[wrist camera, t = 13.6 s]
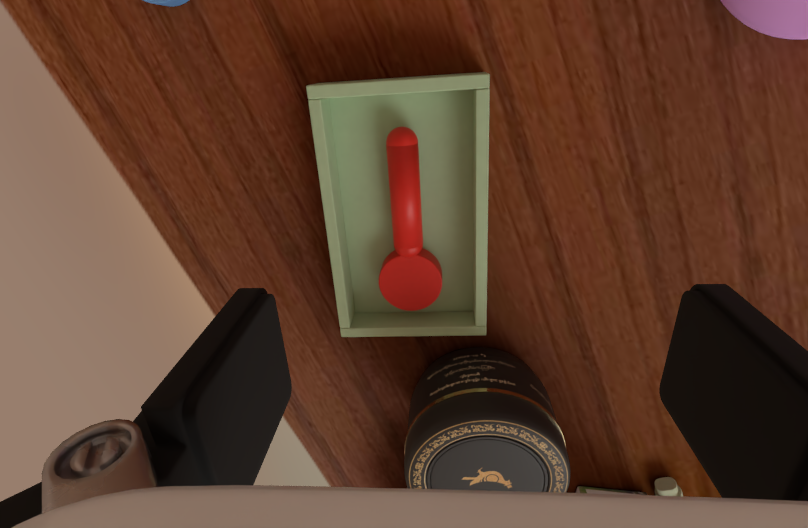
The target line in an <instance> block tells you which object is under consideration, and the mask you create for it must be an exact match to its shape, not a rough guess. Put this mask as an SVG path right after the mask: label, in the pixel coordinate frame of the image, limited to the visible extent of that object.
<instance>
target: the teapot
mask: <svg viewBox="0 0 808 528" xmlns="http://www.w3.org/2000/svg"><path fill="white" fill-rule="evenodd" d="M720 1H721V2H722V4H723V5H724V6H725V7H726V8H727V9H728V11H729V12H730V13H731V14H732V15H733V16H734V17H736V18H737V19H738V20H740V21H741V22H742V23H744V24H745V25H746V26H748V27H750V28H752V29H754V30H756V31H758V32H760V33H763V34H766V35H769V36H772V37H778V38H784V39H808V0H720Z"/></svg>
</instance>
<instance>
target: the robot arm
mask: <svg viewBox="0 0 808 528" xmlns="http://www.w3.org/2000/svg"><path fill="white" fill-rule="evenodd" d="M290 396H291V379H290V374H289V368H288V363H287V358H286V353H285V348H284V343H283V338H282V333H281V327H280V322H279V317H278V312H277V307H276V302H275V298H274V296H273V295H272V294H267V291H266V290H265V289H264V288H240V289H238V290H237V291H236V292H235V294H234V295H233V296H232V297H231V298H230V300H229V301H228V302H227V303H226V304H225V306H224V307H223V308H222V309H221V311H220V312H219V313H218V314H217V315H216V317H215V318H214V319H213V320H212V321H211V323H210V324H209V325H208V326H207V327H206V329H205V330H204V331H203V332H202V334H201V335H200V336H199V337H198V339H197V340H196V341H195V342H194V343H193V345H192V346H191V347H190V348H189V349H188V350H187V352H186V353H185V354H184V355H183V357H182V358H181V359H180V360H179V361H178V363H177V364H176V365H175V366H174V367H173V369H172V370H171V371H170V372H169V373H168V375H167V376H166V377H165V378H164V380H163V381H162V382H161V383H160V384H159V386H158V387H157V388H156V389H155V390H154V392H153V393H152V394H151V395H150V397H149V398H148V399H147V400H146V401H145V403H144V404H143V405H142V406H141V408H142V411H141V412H140V414H139V415H138V416H137V417H136V419H135V420H134V421H133V422H132V421H130V420H121V419H116V420H110V421H104V422H101V423H98V424H94V425H91V426H89V427H87V428H85V429H83V430H81V431H79V432H77V433H75V434H74V435H72V436H71V437H70V438H68V439H67V440H65V441H63V442H62V443H61V444H60V445H59V446H58V447H57V448H56V449H55V450H54V451H53V452H52V453H51V454H50V456H49V457H48V459H47V460H46V462H45V464H44V467H43V471H42V482H40V483H38V484H36V485H34V486H32V487H30V488H28V489H26V490H24V491H22V492H20V493H18V494H16V495H14V496H12V497H10V498H7V499H5V500H3V501H1V502H0V528H808V351H807V350H806V349H804V348H803V347H802V346H801V345H799V344H798V343H797V342H796V341H795V340H793V339H792V338H791V337H790V336H789V335H787V334H786V333H785V332H784V331H783V330H781V329H780V328H779V327H778V326H776V325H775V324H774V323H773V322H772V321H770V320H769V319H768V318H767V317H766V316H764V315H763V314H762V313H761V312H760V311H758V310H757V309H756V308H755V307H753V306H752V305H751V304H750V303H749V302H747V301H746V300H745V299H744V298H743V297H741V296H740V295H739V294H738V293H737V292H735V291H734V290H733V289H732V288H730V287H729V286H728V285H726V284H696V285H694V286H693V287H692V288H691V289H690V291H686V292H684V294H683V295H682V298H681V302H680V306H679V310H678V314H677V318H676V322H675V327H674V331H673V335H672V339H671V343H670V347H669V351H668V355H667V359H666V363H665V367H664V371H663V375H662V379H661V383H660V397H661V400H662V402H663V404H664V406H665V407H666V409H667V411H668V412H669V414H670V415H671V417H672V418H673V420H674V422H675V423H676V425H677V426H678V428H679V430H680V431H681V433H682V434H683V436H684V438H685V439H686V441H687V442H688V444H689V446H690V447H691V449H692V450H693V452H694V453H695V455H696V457H697V458H698V460H699V461H700V463H701V465H702V466H703V468H704V469H705V471H706V473H707V474H708V476H709V477H710V479H711V481H712V482H713V484H714V485H715V487H716V488H717V490H718V492H719V493H720V495H721V496H722V498H711V497H681V496H651V495H621V494H590V493H555V492H520V491H484V490H447V489H405V488H360V487H313V486H312V487H311V486H260V485H253V484H254V482H255V479H256V477H257V474H258V472H259V470H260V468H261V465H262V463H263V460H264V458H265V456H266V453H267V451H268V449H269V446H270V444H271V441H272V439H273V437H274V435H275V432H276V430H277V427H278V425H279V422H280V420H281V418H282V416H283V413H284V411H285V409H286V406H287V404H288V401H289V399H290Z"/></svg>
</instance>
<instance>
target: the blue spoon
mask: <svg viewBox="0 0 808 528" xmlns="http://www.w3.org/2000/svg"><path fill="white" fill-rule="evenodd" d="M144 1H146V2H149V3H153V4H158V5H164V6H179V5H182V4H184V3H186V2H188V1H189V0H144Z"/></svg>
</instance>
